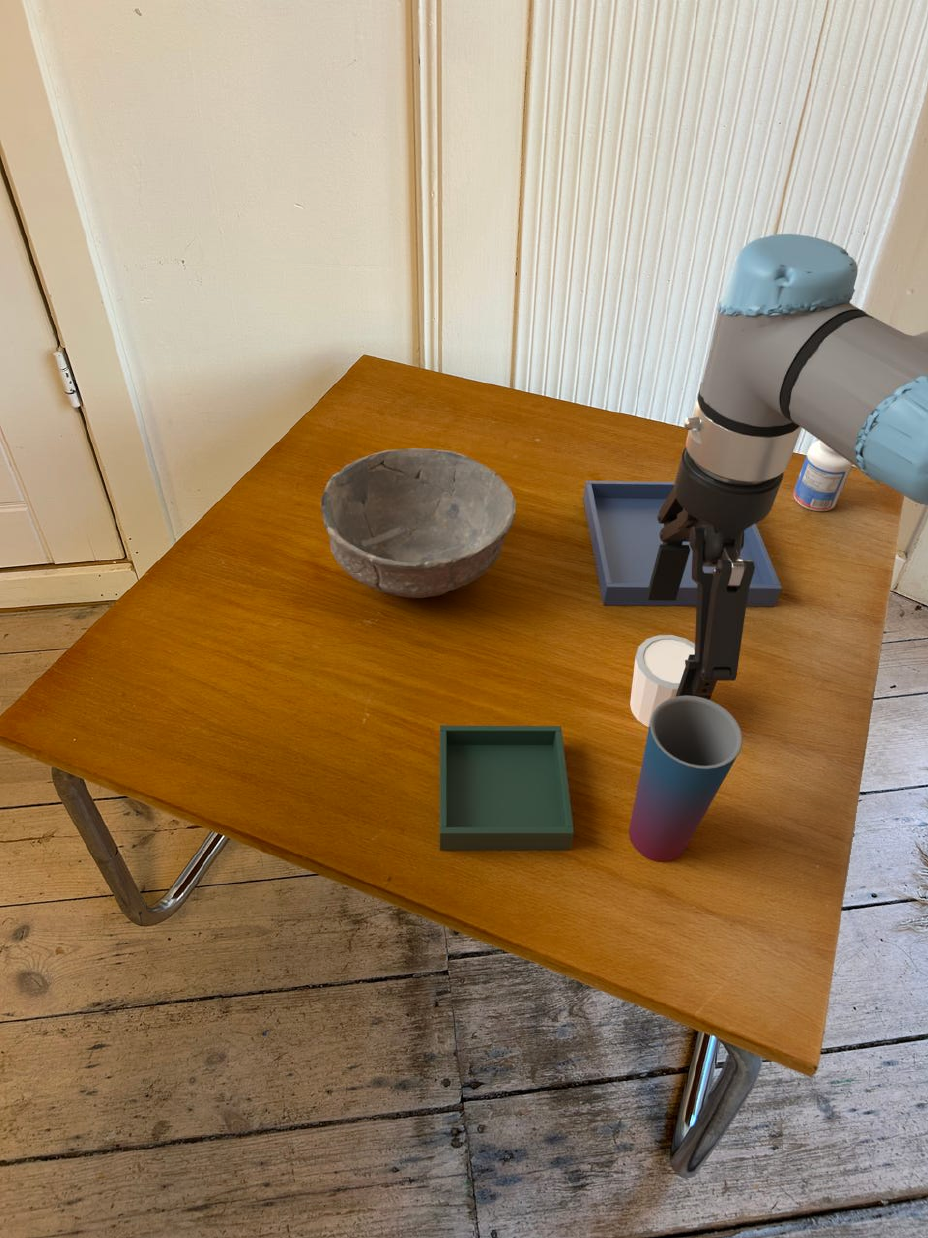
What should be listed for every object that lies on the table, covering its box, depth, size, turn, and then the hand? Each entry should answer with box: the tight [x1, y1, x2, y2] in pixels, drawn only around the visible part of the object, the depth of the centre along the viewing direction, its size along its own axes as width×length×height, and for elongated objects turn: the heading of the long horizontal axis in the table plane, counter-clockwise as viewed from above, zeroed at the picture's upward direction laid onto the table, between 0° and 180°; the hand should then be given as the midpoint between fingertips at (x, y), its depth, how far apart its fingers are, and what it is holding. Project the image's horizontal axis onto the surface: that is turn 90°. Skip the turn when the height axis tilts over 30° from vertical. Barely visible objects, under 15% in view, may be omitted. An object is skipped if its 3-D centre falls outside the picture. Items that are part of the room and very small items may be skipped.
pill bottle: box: [793, 439, 853, 512], centre depth 106 cm, size 6×5×10 cm
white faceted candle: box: [629, 634, 695, 728], centre depth 82 cm, size 7×7×7 cm
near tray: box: [438, 725, 575, 851], centre depth 76 cm, size 11×11×3 cm
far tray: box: [582, 480, 783, 608], centre depth 101 cm, size 19×19×3 cm
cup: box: [628, 696, 743, 863], centre depth 69 cm, size 7×7×15 cm
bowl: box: [320, 447, 517, 599], centre depth 95 cm, size 21×21×10 cm
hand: (674, 649), depth 79 cm, fingers open, 13 cm apart
